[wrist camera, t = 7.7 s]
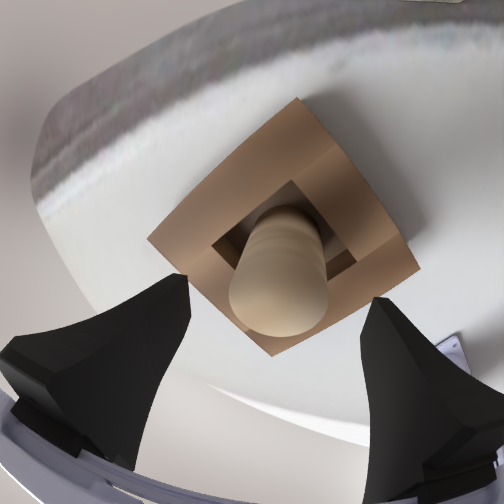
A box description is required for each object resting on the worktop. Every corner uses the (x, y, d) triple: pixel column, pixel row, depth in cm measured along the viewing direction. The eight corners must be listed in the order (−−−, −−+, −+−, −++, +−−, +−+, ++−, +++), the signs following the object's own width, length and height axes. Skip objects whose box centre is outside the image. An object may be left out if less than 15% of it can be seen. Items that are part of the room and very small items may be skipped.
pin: (334, 244, 16) (347, 307, 11) (281, 280, 18) (272, 349, 12) (290, 191, 15) (285, 234, 10) (237, 233, 17) (208, 290, 11)
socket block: (404, 245, 16) (420, 269, 14) (275, 327, 21) (271, 356, 18) (297, 101, 14) (297, 97, 11) (167, 220, 18) (146, 238, 16)
